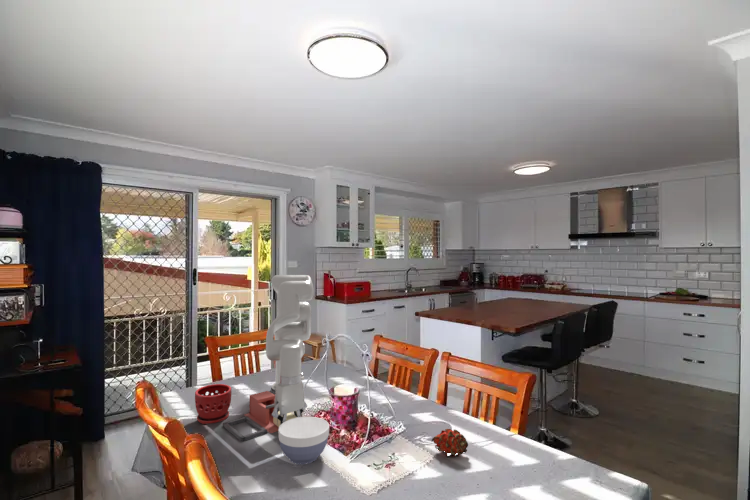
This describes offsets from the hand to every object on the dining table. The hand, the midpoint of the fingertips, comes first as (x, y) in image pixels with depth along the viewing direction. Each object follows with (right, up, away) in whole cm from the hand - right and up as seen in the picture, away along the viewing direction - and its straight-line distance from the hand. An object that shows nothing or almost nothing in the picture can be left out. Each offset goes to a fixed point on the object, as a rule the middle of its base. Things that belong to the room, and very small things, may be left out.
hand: (289, 429), depth 142 cm
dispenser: (-9, -1, +10) cm, 14 cm away
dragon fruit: (+55, -2, -14) cm, 56 cm away
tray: (-16, -1, +1) cm, 17 cm away
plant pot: (-32, -2, +11) cm, 34 cm away
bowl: (+8, -1, -16) cm, 18 cm away
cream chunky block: (-2, 0, +3) cm, 4 cm away
